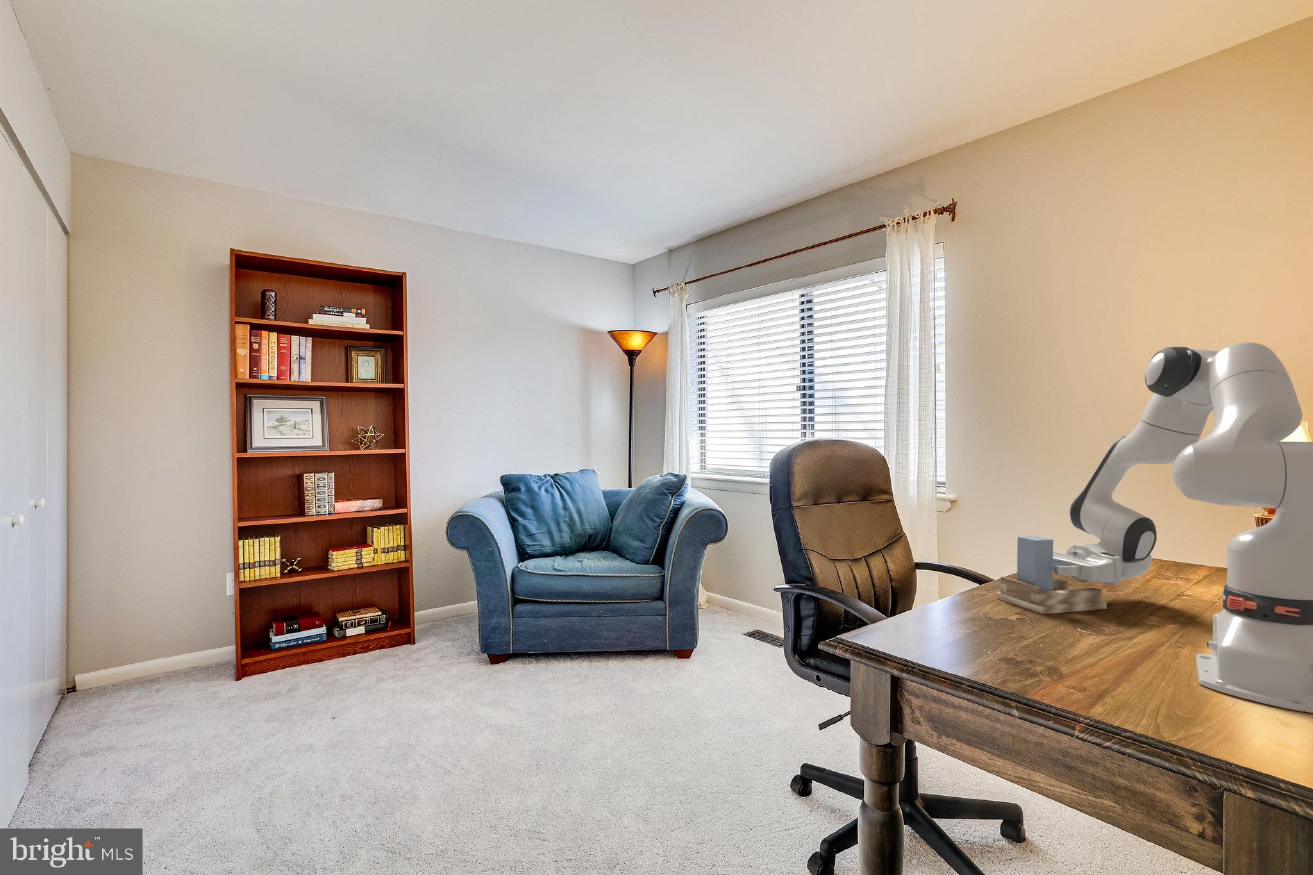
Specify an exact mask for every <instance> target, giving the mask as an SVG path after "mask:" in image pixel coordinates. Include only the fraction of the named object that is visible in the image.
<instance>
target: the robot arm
mask: <svg viewBox="0 0 1313 875" xmlns="http://www.w3.org/2000/svg"><path fill="white" fill-rule="evenodd" d="M1145 370H1146V371H1145V375H1144V383H1145V385H1146V387H1147V389H1148V390H1149V392H1151V393H1153V395H1152V396H1151V397H1150V399H1149V401H1148V403H1146V407H1145V409H1144V410H1143V412H1142V415H1141V417H1140V419H1139V421H1138V423H1137V425H1136V427H1135V428H1134V429H1133V430H1132V431H1131V433H1129V434H1127V435H1123V436H1121V437H1119V438H1118V439H1117V440H1115V442H1114V443H1113V444H1112V445H1111V446H1110V448H1109V450H1108V451H1107V452H1106V453H1105V455H1104V457H1103V458H1102V460H1101V461H1100V463H1099V464H1098V466H1097V468H1096V470H1095V472H1094V473H1093V475H1092V476H1091V477H1090V479H1089V481H1088V483H1087V484H1086V486H1085V487H1084V489H1083V490H1082V491H1081V492H1080V493H1079V495H1078V496H1077V497H1076V498H1075V499H1074V500H1073V502H1072V503H1071V505H1070V507H1069V517H1070V521H1071V524H1072V526H1074V528H1076V529H1077V530H1080V531H1082V532H1085V533H1087V534H1088V535H1089V534H1090V535H1091V536H1093V537H1095V538H1097V539H1099V542H1098V543H1091V544H1090V543H1089V544H1086V543H1085V544H1075V545H1072V546H1070V547H1069V548H1068V549H1067V550H1066V552H1065V553H1064V552H1060V551H1055V550H1053V574H1055V575H1059V576H1068V577H1071V578H1072V579H1073V580H1074V581H1076V582H1080V583H1092V584H1093V583H1096V584H1097V583H1098V584H1099V583H1100V584H1106V585H1110V586H1111V585H1112V586H1119V585H1121V582H1122V581H1124V580H1125V581H1126V580H1131V579H1136V578H1137V577H1140V576H1142V575H1145V574H1146V573H1147V572H1148V571H1149V570H1150V569H1151V567H1152V563H1153V559H1152V558H1153V557H1152V555H1151V553H1152V551H1153V550H1154V548H1155V545H1156V544H1157V538H1158V537H1157V528H1156V525H1155V523H1154V521H1153V519H1151V518H1149V517H1147V516H1146V515H1143V514H1142V513H1140V512H1138V511H1135V510H1133V509H1131V508H1129V507H1126V506H1125V505H1123V504H1120V503H1119V502H1116V501H1115V500H1114V499H1113V496H1112V495H1113V492H1114V491H1115V490H1116V488H1117V486H1118V485H1119V484H1120V482H1121V481H1122V479H1123V477H1124V476H1125V474H1126V472H1127V471H1128V470H1129V469H1130V468H1132V467H1133V466H1135V465H1142V464H1144V465H1168V464H1173V465H1172V477H1173V481H1174V483H1175V486H1176V487H1177V489H1178V490H1179V491H1180V492H1181V494H1183V495H1184V496H1185V497H1186V498H1187V499H1188V500H1189V499H1190V500H1195V501H1199V502H1204V503H1208V504H1215V505H1219V506H1228V507H1229V506H1231V507H1233V506H1234V507H1252V508H1273V509H1276V511H1275V513H1274V516H1273V517H1272V518H1271V520H1270V521H1268V522H1267V523H1266V524H1265V525H1261V526H1258V527H1254V528H1251V529H1248V530H1244V531H1242V532H1240V533H1238V534H1237V535H1235V536H1234V537H1232V539H1231V540H1230V542H1228V545H1227V555H1226V556H1227V557H1226V558H1227V560H1226V562H1227V564H1226V565H1227V567H1226V568H1227V570H1226V574H1227V576H1226V584H1225V585H1223V592H1222V595H1221V596H1222V597H1221V598H1222V608H1223V610H1221V611H1219V612H1217V613H1216V614H1213V618H1212V619H1213V620H1212V623H1213V624H1212V641H1211V640H1208V642H1206V644H1207V645H1206V647H1207V648H1208V650H1212V654H1211V653H1197V654H1196V657H1195V663H1196V670H1197V671H1196V672H1197V678H1198V683H1199V684H1200V685H1202V686H1204V687H1206V688H1209V689H1211V690H1214V691H1217V692H1220V693H1224V694H1227V695H1230V696H1233V697H1236V698H1237V697H1238V698H1242V699H1245V700H1250V701H1252V702H1257V703H1261V704H1265V705H1270V706H1275V707H1279V708H1283V709H1288V710H1293V711H1298V712H1304V711H1305V713H1312V714H1313V441H1283V440H1285V439H1287V438H1288V437H1289V436H1290V435H1292V434H1293V433H1294V432H1295V431H1296V430H1297V429H1298V428H1299V426H1300V425H1301V423H1302V420H1303V410H1302V408H1301V405H1300V402H1299V398H1298V395H1297V393H1296V391H1295V387H1294V385H1293V382H1292V381H1293V380H1292V379H1291V376H1290V375H1289V372H1288V370H1287V369H1286V367H1285V365H1284V364H1283V362H1282V361H1281V359H1280V358H1279V357H1278V355H1276V353H1275V352H1274V351H1273V350H1272V349H1271V348H1270V347H1268V346H1267V345H1264V344H1261V343H1258V342H1257V343H1256V342H1252V341H1251V342H1239V343H1234V344H1232V345H1229V346H1227V347H1224V348H1222V349H1220V350H1219V351H1218V350H1216V351H1215V350H1209V349H1199V348H1198V349H1197V348H1190V347H1187V346H1168V347H1164V348H1162V349H1161V350H1159V351H1157V352H1156V353H1155V354H1154V355H1153V356H1152V358H1150V361H1149V362H1148V364H1147V367H1146V369H1145ZM1212 412H1213V418H1214V419H1213V421H1214V423H1213V427H1212V428H1213V429H1212V430H1211V431H1210V432H1209V433H1208V435H1206V436H1205V437H1204V438H1202V439H1200V438H1201V436H1202V433H1203V431H1204V429H1205V425H1206V423H1207V420H1208V418H1209V417H1210V416H1209V415H1210V414H1211V413H1212Z"/></svg>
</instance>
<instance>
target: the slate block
mask: <svg viewBox="0 0 1313 875" xmlns="http://www.w3.org/2000/svg"><path fill="white" fill-rule="evenodd" d="M1016 546H1017V553H1016V554H1017V557H1016V558H1017V560H1016V563H1017V564H1016V580H1017V581H1021V582H1024V583H1028V584H1031V585H1035V586H1038V587H1041V588H1042V592H1045V591H1053V580H1054V579H1053V578H1054V577H1053V576H1054V572H1053V551H1054V539H1052V538H1048V537H1047V538H1046V537H1041V536H1037V535H1030V536H1017V545H1016Z"/></svg>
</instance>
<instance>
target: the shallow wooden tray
mask: <svg viewBox="0 0 1313 875" xmlns="http://www.w3.org/2000/svg"><path fill="white" fill-rule="evenodd" d="M1068 585H1069V584H1068V580H1066V579H1062V578H1057V579H1053V591H1045V592H1042V588H1041V587H1038V586H1035V585H1031V584H1028V583H1024V582H1021V581H1017V579H1014V578H1011V577H1007V576H1000V591H998V592H996V598H995V599H997V600H1000V601H1003V602H1005V603H1008V604H1011V605H1014V606H1018V607H1021V608H1023V609H1027V610H1030V611H1032V612H1035V613H1038V614H1041V615H1046V614H1059V613H1070V612H1071V613H1072V612H1082V611H1083V612H1084V611H1094V610H1095V611H1096V610H1105V609H1108V606H1107V603H1108V602H1107V601H1104V600H1102V598H1103V597H1102V596H1103V589H1100V588H1098V587H1090V588H1089V587H1088V588H1075V589H1072V588H1071V589H1068V587H1069V586H1068Z"/></svg>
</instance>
